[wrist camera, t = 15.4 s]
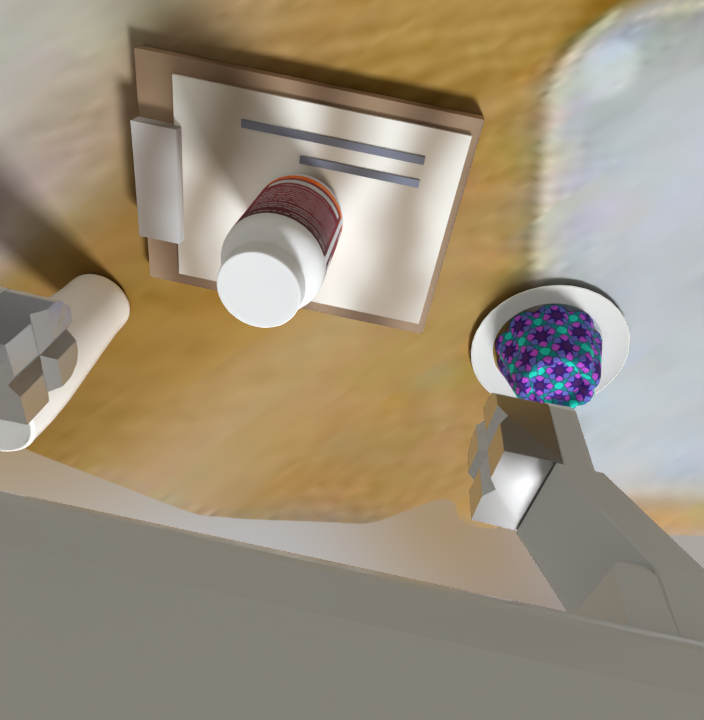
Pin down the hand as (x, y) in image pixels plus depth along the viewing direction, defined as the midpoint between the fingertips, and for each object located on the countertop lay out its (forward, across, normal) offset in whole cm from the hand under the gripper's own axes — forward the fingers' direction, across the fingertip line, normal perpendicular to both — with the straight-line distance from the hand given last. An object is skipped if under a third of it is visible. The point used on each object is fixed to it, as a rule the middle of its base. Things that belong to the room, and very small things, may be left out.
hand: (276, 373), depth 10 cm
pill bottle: (+28, +4, +8) cm, 29 cm away
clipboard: (+29, +5, +8) cm, 31 cm away
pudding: (+30, -16, +16) cm, 37 cm away
